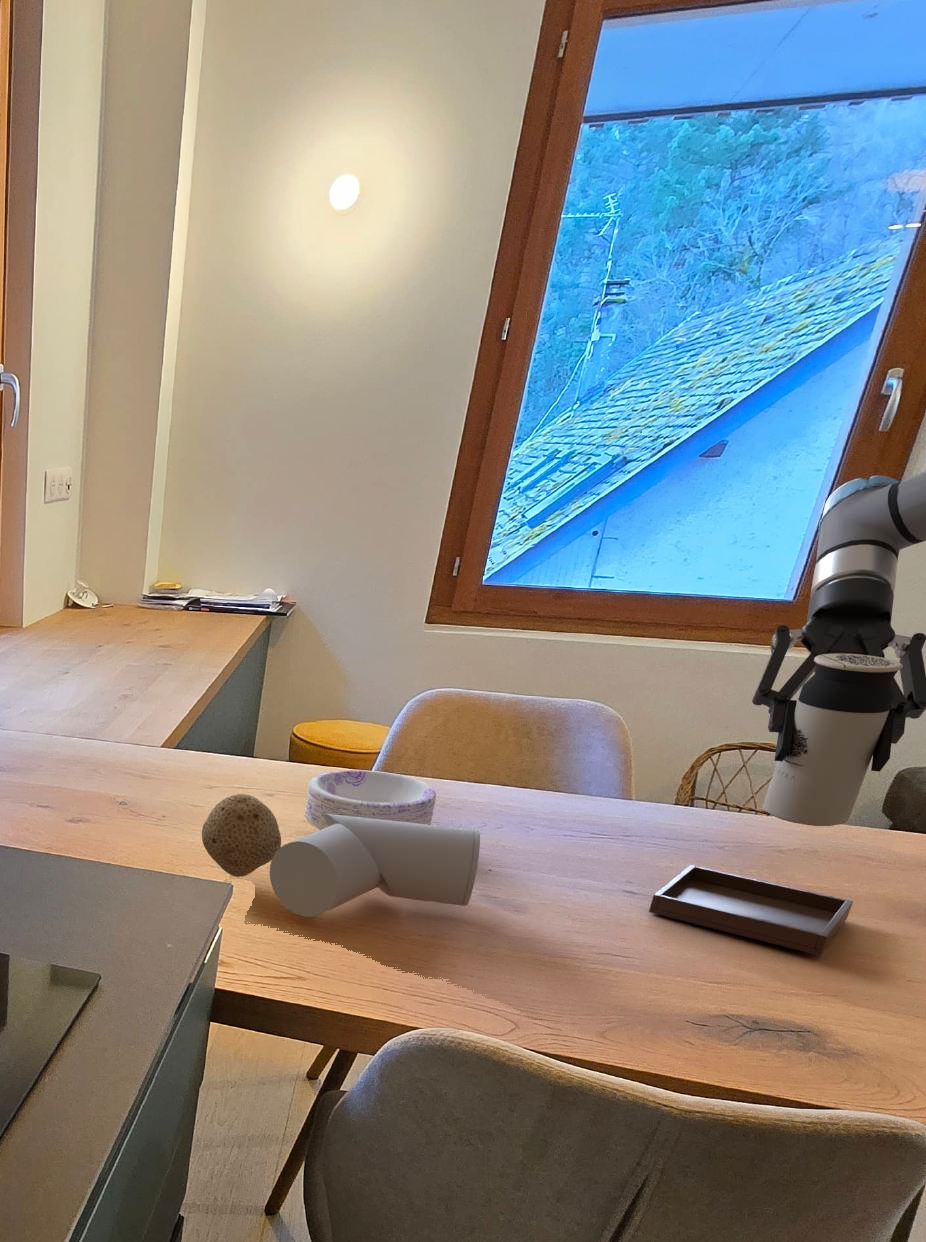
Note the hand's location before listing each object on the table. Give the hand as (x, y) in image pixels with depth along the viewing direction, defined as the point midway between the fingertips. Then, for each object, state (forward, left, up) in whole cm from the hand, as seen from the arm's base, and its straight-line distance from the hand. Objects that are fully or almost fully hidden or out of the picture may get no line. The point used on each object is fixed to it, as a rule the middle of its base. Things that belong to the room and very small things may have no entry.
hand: (830, 759), depth 115 cm
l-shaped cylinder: (+30, +40, -15) cm, 52 cm away
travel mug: (+1, -3, -8) cm, 8 cm away
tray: (+1, +13, -16) cm, 20 cm away
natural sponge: (+46, +44, -16) cm, 65 cm away
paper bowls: (+41, +22, -16) cm, 49 cm away
